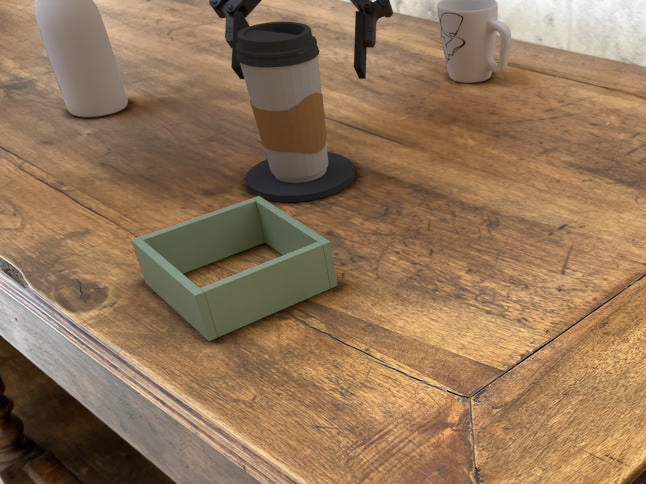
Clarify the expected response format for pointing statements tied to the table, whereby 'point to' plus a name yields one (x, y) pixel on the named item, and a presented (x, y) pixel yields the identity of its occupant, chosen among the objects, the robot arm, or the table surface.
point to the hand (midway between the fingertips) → (299, 73)
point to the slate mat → (328, 184)
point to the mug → (472, 39)
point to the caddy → (242, 288)
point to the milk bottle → (81, 56)
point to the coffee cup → (286, 97)
